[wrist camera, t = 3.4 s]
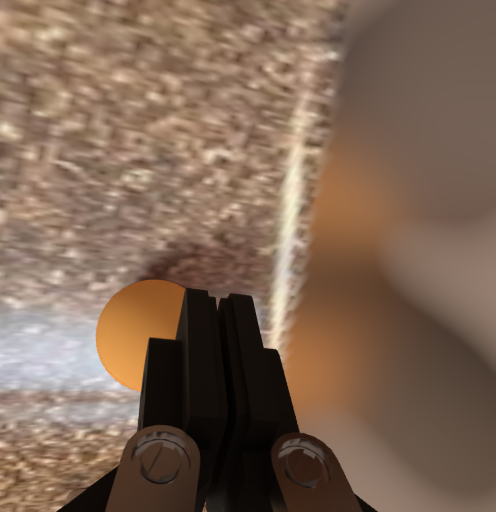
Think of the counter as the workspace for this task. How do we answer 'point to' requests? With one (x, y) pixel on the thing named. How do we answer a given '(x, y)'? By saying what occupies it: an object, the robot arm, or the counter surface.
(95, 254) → the counter surface
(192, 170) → the counter surface
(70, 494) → the pin
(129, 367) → the ball
